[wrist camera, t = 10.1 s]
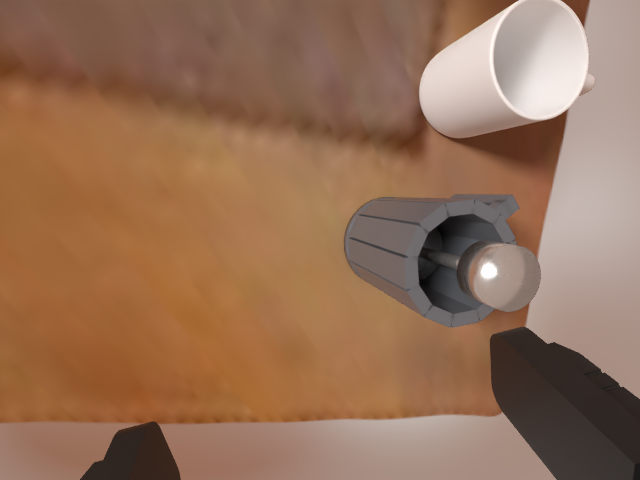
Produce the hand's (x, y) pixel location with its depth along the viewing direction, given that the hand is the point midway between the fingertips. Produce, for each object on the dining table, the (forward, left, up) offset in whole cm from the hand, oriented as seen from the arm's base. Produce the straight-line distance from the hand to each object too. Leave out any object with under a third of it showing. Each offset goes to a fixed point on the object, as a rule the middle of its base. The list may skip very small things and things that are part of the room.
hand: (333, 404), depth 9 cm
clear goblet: (+7, +10, -20) cm, 24 cm away
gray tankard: (+7, +12, -25) cm, 29 cm away
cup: (+1, +25, -25) cm, 36 cm away
